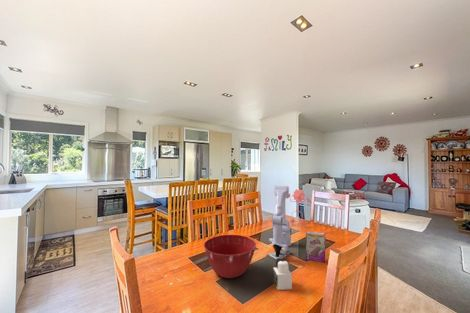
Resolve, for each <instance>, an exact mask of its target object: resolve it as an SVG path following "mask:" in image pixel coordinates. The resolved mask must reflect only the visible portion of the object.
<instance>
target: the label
mask: <svg viewBox="0 0 470 313" xmlns="http://www.w3.org/2000/svg"><path fill="white" fill-rule="evenodd" d="M271 253H272V254H271ZM271 253H268V254H269V255H270V256H271V257H273V258H275V259H278V258H279V257H276V254H274V252H271Z"/></svg>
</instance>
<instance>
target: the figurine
mask: <svg viewBox="0 0 470 313" xmlns="http://www.w3.org/2000/svg"><path fill="white" fill-rule="evenodd" d="M292 197H293V200H292V199H291V193H289V196H288V197H286V199H289V202H291V203H293V202H294V203H297V204H298V206H297V208H296V209H295V210H294V211H293V212H291V214H293V213H294V212H298V213H300V214H302V217H301V219H303V213H302V212H301V211H300V210H299V206H300V205H302V204H303V203H304V202H305V200H306V201H307V202H308V203H310V204H312V201H311V200H310V199H309V197H306V194H305V193H304V190H302V189H297V188H296V189H295V190H294V191H293V194H292ZM294 222H295V219H294V218H293V216H291V220H290V224H292V223H293V224H295V223H296V222H295V223H294ZM305 224H306V223H305V222H304V221H303V220H300V227H302V226H304V225H305ZM305 226H306V225H305Z"/></svg>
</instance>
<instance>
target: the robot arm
mask: <svg viewBox="0 0 470 313" xmlns="http://www.w3.org/2000/svg"><path fill="white" fill-rule="evenodd" d="M289 192H290V188H289V186H288V185H275V186H274V187H273V193H274V196H276V205H274V209H273V215H272V217H271V218H272V219H271V222H272V231H273V232H272V236H273V237H271V238H270V237H269V238H268V241H269V243H271V244H272V248H273V249H274V252H275V254H276V257H279V253H280V251H281V250H282V247H283V248H284V249H287V247H291V246H292V235H291V233H290V231H291V230H290V226H291V225H290V222H289V221H288V220H287V218H286V199H287V198H286V197H288V196H289V194H290V193H289Z"/></svg>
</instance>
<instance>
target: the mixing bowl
mask: <svg viewBox="0 0 470 313" xmlns="http://www.w3.org/2000/svg"><path fill="white" fill-rule="evenodd" d="M203 248H204V249H205V250H204V251H205V254H206V255H205V256H206V257H207V260H208V263H209V265H210V267H211V269H212V270H213V272H214V273H215V274H216V275H218V276H219V277H221V278H225V279H234V278H238V277H240V276H242V275H243V274H245V272H246V271H247V270H248V268H249V266H250V264H251V261H252V259H253V257H254V253H255V249H256V248H257V243H256V241H255V240H254V239H252V238H250V237H248V236H245V235H239V234H222V235H217V236H213V237H210V238H209V239H207V240H205V241H204V243H203Z"/></svg>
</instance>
